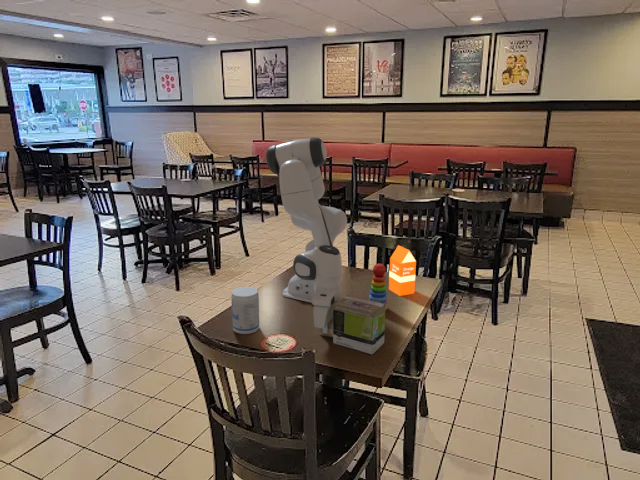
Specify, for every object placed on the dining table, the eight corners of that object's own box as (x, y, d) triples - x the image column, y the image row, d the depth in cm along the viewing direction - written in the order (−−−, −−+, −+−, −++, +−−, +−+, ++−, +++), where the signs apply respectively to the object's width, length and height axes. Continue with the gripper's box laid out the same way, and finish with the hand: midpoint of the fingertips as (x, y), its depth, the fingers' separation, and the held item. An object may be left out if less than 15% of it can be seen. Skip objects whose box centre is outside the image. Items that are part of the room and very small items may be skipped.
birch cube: (319, 334, 160) (319, 321, 159) (324, 328, 165) (324, 316, 164) (333, 337, 159) (333, 323, 158) (337, 330, 163) (337, 318, 162)
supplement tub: (227, 328, 165) (225, 290, 161) (249, 320, 171) (247, 284, 167) (242, 338, 158) (241, 298, 154) (265, 329, 164) (263, 291, 161)
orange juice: (399, 296, 195) (401, 251, 189) (388, 289, 202) (390, 245, 197) (414, 293, 198) (417, 249, 192) (403, 286, 205) (405, 243, 200)
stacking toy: (388, 313, 178) (390, 267, 173) (367, 312, 178) (369, 267, 173) (386, 305, 185) (388, 261, 180) (366, 304, 186) (368, 260, 181)
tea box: (385, 343, 155) (386, 302, 151) (372, 355, 147) (373, 313, 143) (346, 332, 163) (347, 293, 159) (331, 343, 154) (332, 303, 150)
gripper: (329, 281, 168) (329, 315, 172) (310, 301, 150) (310, 340, 153) (345, 283, 166) (345, 317, 170) (328, 304, 148) (328, 343, 151)
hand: (328, 328), depth 162 cm, fingers closed on birch cube, 5 cm apart
